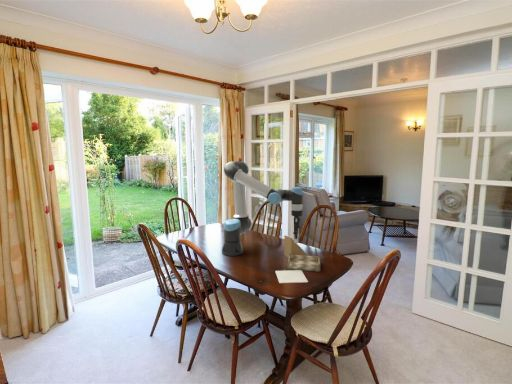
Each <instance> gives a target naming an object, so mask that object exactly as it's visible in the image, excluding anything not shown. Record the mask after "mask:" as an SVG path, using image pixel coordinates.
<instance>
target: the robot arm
mask: <svg viewBox="0 0 512 384" xmlns="http://www.w3.org/2000/svg"><path fill="white" fill-rule="evenodd" d="M223 173H224V175H225V176H226V177H227V178H229V180H230V181H231V182H232V184H233V199H234V214H233V216H232V217H233V218H229V219H226V220H225V221H224V223H223V238H224V239H223V240H224V241H223V245H222V248H221V253H222V254H223V255H224V256H229V257H236V256H240V255H243V253H244V249H243V246H242V245H243V244H242V242H241V235H243V234H245V233H248V232H249V231H250V229H251V228H252V220H251V218H249V214H248V213H247V200H246V199H247V198H246V197H247V195H246V188H248V189H249V190H252V191H253V192H255V193H257V194H258V195H259V196H262V197H263V198H265V199H266V200H268V202H269V203H270V204H271V205H277V204H279V203H281V202H284V201H285V202H286V201H287V202H288V201H289V202H291V203H290V206H291V207H290V209H291V210H290V212H291V213H290V215H291V216H292V217H294V218H293V226H294V227H293V228H294V229H293V232H292V233H293V240H294V243H297V244H299V238H300V229H301V226H300V221H301V218H300V217H301V216H303V207H304V204H303V193H304V192H303V187H301V186H293V187H291V188H290V189H273V188H271V187H270V186H269V185H267V184H265V183H264V182H261V181H259V180H257V178H255V177H252V175H249V166H248V164H247V163H246V162H245V161H241V160H236V161H229V162H227V163H226V164H225V165H224V168H223Z"/></svg>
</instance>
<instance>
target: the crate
mask: <svg viewBox="0 0 512 384" xmlns="http://www.w3.org/2000/svg"><path fill="white" fill-rule="evenodd" d="M320 257H321V256H320V255H317V256H315V255H308V256H302V255H291V254H289V258H287V264H286V265H287V270H302V271H305V272H306V271H309V272H321V258H320Z"/></svg>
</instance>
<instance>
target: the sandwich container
mask: <svg viewBox="0 0 512 384" xmlns="http://www.w3.org/2000/svg"><path fill="white" fill-rule="evenodd" d="M283 238H284V245H283V247H284V249H283V250H284V251H283V252H284V253H283V256H284V257H285V258H287V259H289V254H291V255H302V256H309V255H308V253H307V252H305V250H304V249H302V247H301V246H300V245H299V244H298V243H294V238H292V237H290V236H288V235H284V237H283Z"/></svg>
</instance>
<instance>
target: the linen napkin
mask: <svg viewBox="0 0 512 384" xmlns="http://www.w3.org/2000/svg"><path fill="white" fill-rule="evenodd" d="M274 271H275V275H276V277H277V281H278V283H279V284H297V283H298V284H301V283H309V280H308V279H307V277H306V276H305V274H304V272H303V270H293V269H287V270H274Z"/></svg>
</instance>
